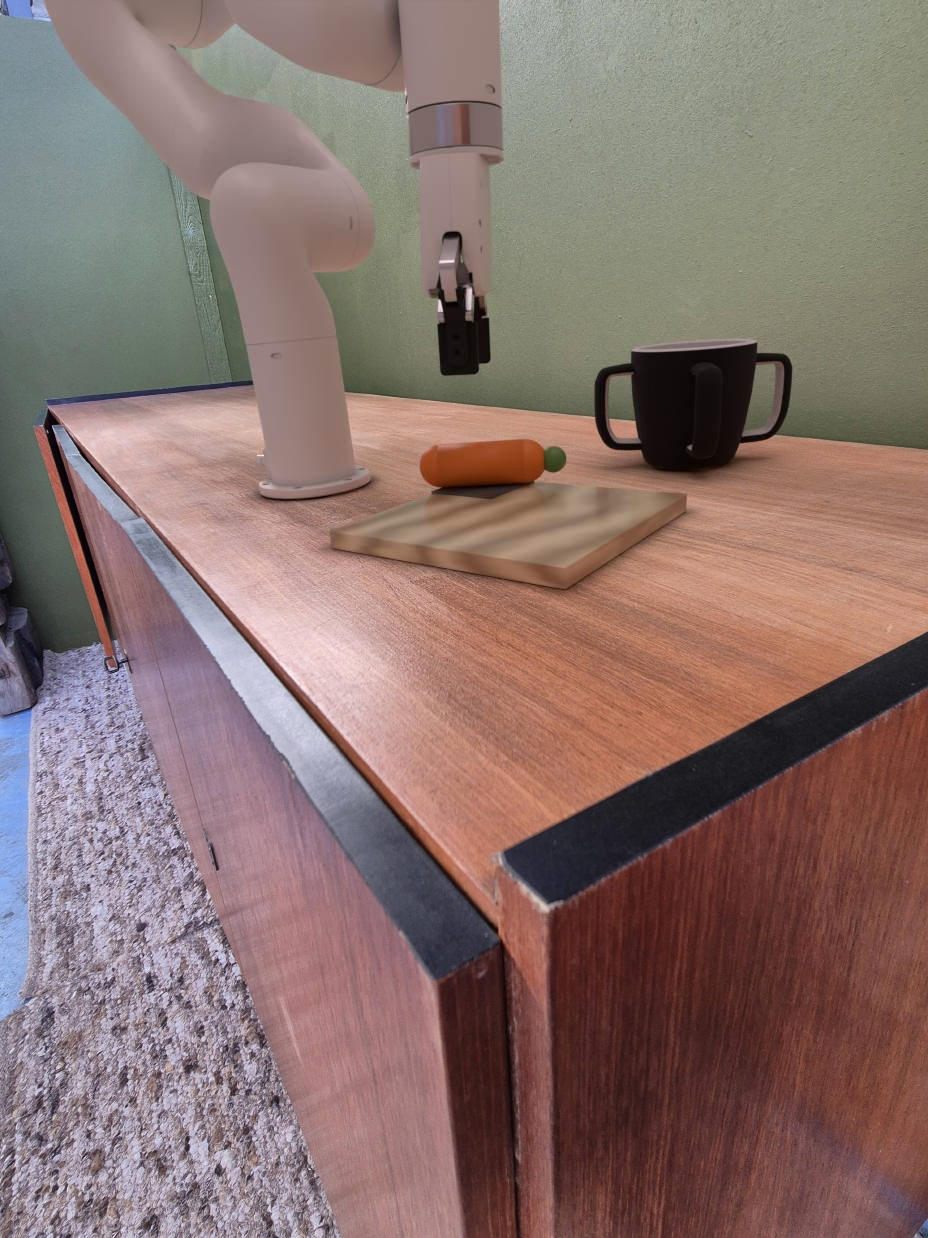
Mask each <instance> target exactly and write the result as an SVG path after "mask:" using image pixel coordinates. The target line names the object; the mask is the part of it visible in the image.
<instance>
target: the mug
mask: <svg viewBox="0 0 928 1238" xmlns="http://www.w3.org/2000/svg"><path fill="white" fill-rule="evenodd" d="M764 365H774V369H775V375H774V376H775V377H774V378H775V379H774V392H773V399H772V405H771V411H770V414H769V417H768V419H767V421H766V422H765V423H764V425H763V426H762V427H759V428H754V429H753V428H752V429H745V426H746V422H747V417H748V413H749V408H750V404H751V399H752V394H753V388H754V382H755V374H756V368H757V366H764ZM623 376H624V377H625V376H630V381H631V382H630V383H631V397H632V398H631V399H632V405H633V413H634V420H635V421H634V422H635V428H636V433H637V437H617V436H616V435H615V433H614V431H613V429H612V427H611V421H610V406H609V401H610V400H609V398H610V397H609V394H610V393H609V390H610V381H611V379H612V378H613V377H623ZM792 384H793V364H792V362H791V359H790V357H789V355H786V354H785V353H781V352H780V353H779V352H758V341H757V340H756V339H752V338H714V339H713V338H711V339H698V340H696V339H695V340H683V341H673V342H672V341H671V342H662V343H654V344H647V345H641V346H636V347H634V348H633V349H631V350H630V362H626V363H620V364H616V365H610V366H605V367H602V368H601V369H600V370H599V372H598V373H597V375H596V378H595V380H594V386H593V387H594V388H593V389H594V390H593V393H594V397H593V400H594V402H593V405H594V406H593V407H594V421H595V427H596V430H597V433H598V434H599V438H600V439H601V440H602V443H603V444H604V445H605V446H606V447H607V448H609V449H611V450H614V451H624V452H625V451H627V452H628V451H630V452H631V451H640V452H641V455H642V457H643V460H644V462H645V463H646V464H648V465H649V466H652V467H655V468H659V469H660V468H661V469H665V470H672V471H673V470H675V471H692V470H693V471H694V470H705V469H710V468H715V467H719V466H723V465H726V464H728V463H730V462H731V461H732V460H733V459H734V458H735V456H736V454H737V452H738V449H739V446H740V444H750V443H757V442H763V441H767V440H769V439H770V438H773V437H774V436H775V435H776V434H777V433H778V432H779V431H780V429H781V427H782V426H783V424H784V421H785V420H786V418H787V414H788V413H789V407H790V402H791V401H790V400H791V395H792V394H791V393H792Z"/></svg>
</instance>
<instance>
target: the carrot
mask: <svg viewBox="0 0 928 1238" xmlns="http://www.w3.org/2000/svg"><path fill="white" fill-rule="evenodd" d="M566 464H567V454H566V452H565V451H564V449H563V448H562V447H559V446H557V445H552V446H551V445H550V446H548V447H546V448H545V449H544V448H543V446H542V445H541V443H539V442H537V441H535V440H533V439H530V438H519V439H518V438H517V439H503V440H501V439H500V440H485V441H474V442H455V443H441V444H434V445H431V446H430V447H428V448H427V449H426V450H425V451H424V452H423V454H422V455H421V457H420V460H419V471H420V475H421V477H422V478H423V480H424V481H425V482H426V483H427V484H429V485H430V486H432V487H434V488H442V487H461V486H479V485H497V484H516V483H529V482H532V481H534V482H536V480H538V479H539V478H540V477H541V476H542V475H543V474H544V472H545V471H546V472H548V473H551V474H552V473H554V474H555V473H558V472H560V471H562V469H564V468H565V466H566Z"/></svg>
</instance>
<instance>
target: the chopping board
mask: <svg viewBox="0 0 928 1238" xmlns="http://www.w3.org/2000/svg"><path fill="white" fill-rule="evenodd" d="M430 492H431V493H429V494H426V495H424V496H421V497H418V498H416V499H415V498H414V499H413V500H410V501H407V502H404V503H402V504H399V505H397V506H393V507H390V508H388V509H385V510H383V511H379V512H377V513H374V514H372V515H369V516H366V517H363V518H361V519H358V520H355V521H353V522H349V523H347V524H345V525H341V526H338V527H336V528H333V529H331V530H329V531H328V532H329V533H328V534H329V538H330V543H331V545H330V546H331V549H333V550H334V549H335V550H341V551H346V552H351V553H356V554H357V553H358V554H363V555H368V556H374V557H380V558H386V559H391V560H397V561H403V562H409V563H414V564H420V565H425V566H430V567H437V568H442V569H443V568H444V569H448V570H453V571H459V572H464V573H470V574H475V575H480V576H481V575H482V576H487V577H492V578H498V579H503V580H504V579H505V580H510V581H514V582H515V581H516V582H520V583H527V584H533V585H538V586H543V587H549V588H555V589H561V590H567V589H569V588H570V587H572V586H573V585H575V584H576V583H578V582H579V581H581V580H583V579H584V578H586V577H587V576H589V575H591V574H592V573H593V572H595V571H596V570H598V569H599V568H602V567H603V566H604V565H606V564H607V563H609V562H610V561H611V560H613V559H615V558H616V557H618V556H619V555H621V554H622V553H624V552H626V551H627V550H628V549H630V548H632V547H634V546H635V545H636V544H638V543H639V542H641V541H643V540H644V539H645V538H647V537H648V536H650V535H652V534H653V533H655V532H656V531H657V530H660V529H661V528H663V527H664V526H666V525H667V524H669V523H670V522H672V521H673V520H675V519H676V518H678V517H679V516H681V515H683V514H684V513H685V512H687V506H688V505H687V503H688V502H687V501H688V494H687V493H684V492H683V493H681V492H671V491H670V492H668V491H655V490H645V489H644V490H642V489H630V488H618V487H617V488H616V487H604V486H591V485H581V484H580V485H578V484H566V483H554V482H541V481H532V482H529V483H516V484H497V485H479V486H461V487H442V488H441V487H438V488H436V489H433V490H431V491H430Z"/></svg>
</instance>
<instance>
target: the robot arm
mask: <svg viewBox="0 0 928 1238" xmlns="http://www.w3.org/2000/svg"><path fill="white" fill-rule="evenodd" d="M43 3H44V6H45V9H46V12H47V14H48V17H49V20H50V21H51V24H52V26H53V28H54V31H55V33H56V34H57V36H58V38H59V40H60V42H61V44H62V46H63V47H64V49H65V51H66V52H67V54H68V55H69V57H70V59H71V60H72V61H73V63H74V64H75V65H76V67H77V68H78V69H79V71H81V73H82V74H83V76H85V78H86V79H87V80H88V81H89V82H90V83H91V84H92V85H93V86H94V87H95V88H96V89H97V90H98V91H99V92H100V93H101V94H102V95H103V96H104V97H105V98H106V99H107V100H108V101H109V102H110V103H111V104H112V105H113V106H115V108H116V109H117V110H118V111H119V112H121V114H122V115H123V116H124V117H125V118H126V119H127V120H128V121H129V122H130V123H131V125H132V126H133V127H134V129H136V130H137V133H139V134H140V135H139V136H141V137H142V138H143V139H144V141H145V142H146V143H147V144H148V145H149V146H150V147H151V149H152V150H153V151H154V152H155V153H156V154H157V156H158V157H159V158H160V159H161V160H162V161H163V162H164V163H165V165H166V166H167V167H168V168H169V169H170V171H171V172H172V173H173V174H174V175H175V176H176V177H177V178H178V180H179V181H180V182H181V183H182V184H183V185H184V186H185V187H186V188H187V189H188V190H189V191H190V192H191V193H193V194H195V196H198V197H200V198H202V199H205V200H208V201H209V219H210V225H211V228H212V233H213V236H214V239H215V242H216V244H217V248H218V250H219V252H220V255H221V258H222V260H223V263H224V265H225V269H226V271H227V274H228V276H229V277H228V278H229V279H230V282H231V283H230V284H231V287H232V290H233V293H234V297H235V301H236V305H237V309H238V315H239V319H240V323H241V328H242V333H243V338H244V345H245V348H246V352H247V359H248V363H249V369H250V374H251V380H252V385H253V391H254V395H255V400H256V405H257V411H258V415H259V420H260V421H259V422H260V427H261V431H262V436H263V441H264V447H265V448H262V449H261V450H262V454H256V455H255V456H254V459H253V462H254V464H255V465H256V466H257V467H265V471H266V476H267V477H265V478H263V479H262V480H260V482H259V483H258V490H259V494H260V495H261V496H263V497H266V498H269V499H278V500H279V499H281V500H294V499H295V500H297V499H309V498H317V497H318V498H319V497H325V496H332V495H336V494H341V493H345V492H349V491H352V490H356V489H358V488H361V487H363V486H366V485H367V484H368V483H369V482H371V479H372V475H371V471H370V469H369V467H368V468H367V467H365V466H362V465H356V460H355V455H354V454H355V453H354V445H353V440H352V439H353V438H352V432H351V426H350V420H349V411H348V404H347V398H346V391H345V384H344V377H343V370H342V362H341V357H340V349H339V343H338V342H339V341H338V336H337V329H336V324H335V318H334V313H333V310H332V307H331V305H330V302H329V300H328V297H327V295H326V293H325V291H324V290H323V288H322V286H321V285H320V283H319V281H318V278H317V277H316V275H315V273H340V272H344V271H349V270H353V269H354V268H357V267H358V266H360V265H361V264H362V263H364V262H365V261H366V260H367V259H368V257H369V255H370V254H371V252H372V250H373V248H374V244H375V239H376V219H375V214H374V210H373V207H372V205H371V201H370V199H369V197H368V195H367V193H366V192H365V190H364V188H363V187H362V185H361V184H360V182H358V180H357V179H356V177H355V176H354V175H353V174H352V173H351V172H350V170H349V169H348V168H347V167H346V166H345V165H344V164H343V163H342V161H340V159H338V158H337V157H336V156H335V154H334V153H333V152H332V151H331V150H330V149H329V148H328V147H327V146H326V145H325V143H324V142H323V141H322V140H321V139H320V138H319V137H318V136H317V135H316V134H315V132H314V131H313V130H312V129H311V128H310V127H309V126H308V125H307V124H306V122H304V121H303V120H302V119H300V118H299V117H298V116H296V115H295V114H293V113H292V112H291V111H289V110H287V109H286V108H283V107H280V106H277V105H274V104H271V103H267V102H264V101H258V100H254V99H253V100H252V99H250V98H249V99H248V98H243V97H239V96H235V95H232V94H227V93H224V92H221V91H219V90H217V89H215V88H214V87H213V86H211V85H210V84H209V83H208V82H207V81H206V80H205V79H204V78H203V77H202V76H201V75H200V74H199V73H198V72H197V71H196V70H195V69H194V67H193V66H192V65H191V64H190V62H189V61H188V60H187V59H186V57H184V56H183V55H182V54H181V53H180V52H179V51H177V50H176V49H175V47H177V48H182V49H189V50H199V49H203V48H206V47H209V46H210V45H212V44H214V43H215V42H216V41H217V40H219V39H220V38H222V36H223V35H224V34H225V33H227V32H228V31H229V30H230V29H231V28H232V27H234V26H235V25H237V26H238V27H239V28H240V29H241V30H242V31H244V32H245V33H246V34H248V35H249V36H251V37H252V38H254V39H255V40H257V41H258V42H260V43H262V44H263V45H265V46H266V47H268V48H269V49H271V50H272V51H274V52H275V53H277V54H278V55H280V56H281V57H283V58H285V59H286V60H288V61H290V62H292V63H293V64H295V65H297V66H299V67H301V68H303V69H306V70H309V71H311V72H314V73H316V74H321V75H325V76H330V77H335V78H338V79H343V80H347V81H350V82H354V83H358V84H360V85H363V86H368V87H372V88H374V89H375V88H376V89H380V90H383V91H387V92H394V93H400V92H404V96H405V97H404V98H405V99H404V100H405V112H406V114H405V115H406V123H407V124H406V126H407V136H408V138H407V139H408V152H409V153H408V154H409V165H410V167H411V168H412V169H415V170H418V171H419V180H418V181H419V182H418V183H419V187H418V188H419V192H418V193H419V223H420V224H419V231H420V255H421V256H420V257H421V259H420V260H421V281H422V282H421V283H422V291H423V294H424V295H425V296H426V297H427V298H428V299H430V300H432V299H433V300H435V299H437V322H438V323H437V324H436V326H437V341H438V342H437V344H438V355H439V371H440V374H441V375H442V376H443V377H446V376H447V377H449V376H450V377H451V376H471V375H472V376H473V375H476V374H478V373H479V371H480V365H485V364H489V363H490V362H491V360H492V359H491V358H492V357H491V356H492V355H491V329H490V317H488V304H487V303H488V302H487V294H489V292H490V291H491V290H492V271H493V270H492V269H493V262H492V261H493V241H492V238H493V237H492V233H493V232H492V231H493V230H492V201H491V200H492V199H491V177H490V176H491V175H490V167H492V166H495V165H498V164H500V163H502V162H504V159H505V158H504V157H505V156H504V127H503V94H502V91H503V90H502V61H501V60H502V59H501V57H502V56H501V55H502V54H501V23H500V21H501V20H500V19H501V18H500V0H43ZM172 46H173V47H172Z"/></svg>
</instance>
